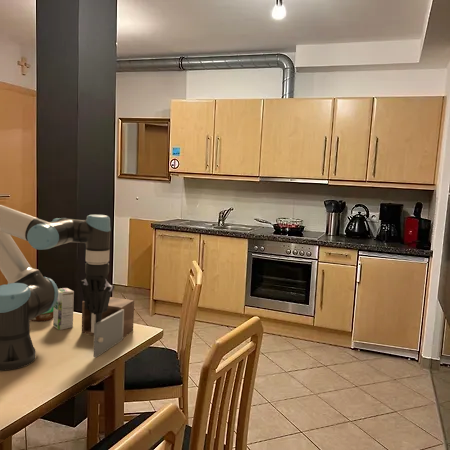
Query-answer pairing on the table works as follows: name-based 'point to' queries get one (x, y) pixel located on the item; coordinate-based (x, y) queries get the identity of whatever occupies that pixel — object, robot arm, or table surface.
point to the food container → (44, 316)
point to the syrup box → (63, 309)
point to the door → (108, 332)
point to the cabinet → (113, 307)
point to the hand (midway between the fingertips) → (95, 331)
